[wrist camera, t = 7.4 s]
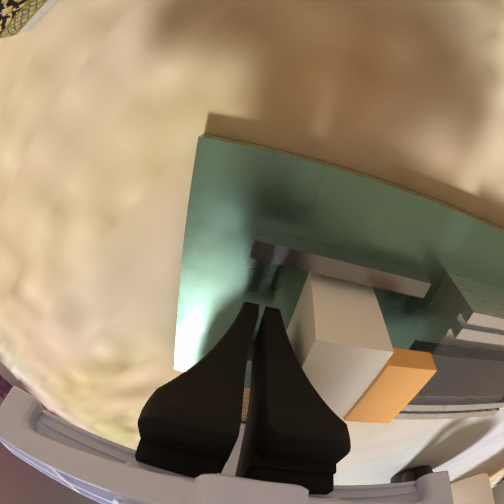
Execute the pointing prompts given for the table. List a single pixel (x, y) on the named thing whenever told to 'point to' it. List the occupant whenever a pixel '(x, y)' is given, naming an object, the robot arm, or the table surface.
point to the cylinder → (473, 490)
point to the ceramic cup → (21, 15)
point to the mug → (411, 474)
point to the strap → (463, 371)
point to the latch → (353, 351)
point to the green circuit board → (334, 257)
